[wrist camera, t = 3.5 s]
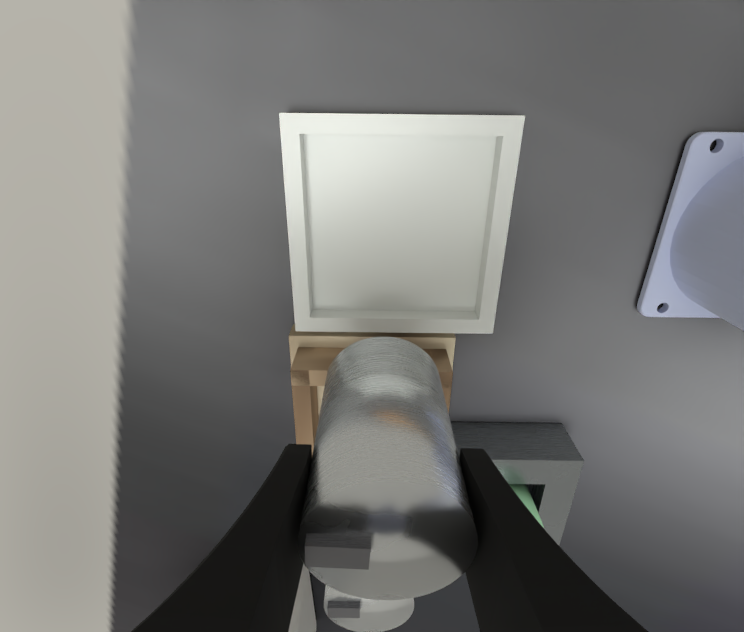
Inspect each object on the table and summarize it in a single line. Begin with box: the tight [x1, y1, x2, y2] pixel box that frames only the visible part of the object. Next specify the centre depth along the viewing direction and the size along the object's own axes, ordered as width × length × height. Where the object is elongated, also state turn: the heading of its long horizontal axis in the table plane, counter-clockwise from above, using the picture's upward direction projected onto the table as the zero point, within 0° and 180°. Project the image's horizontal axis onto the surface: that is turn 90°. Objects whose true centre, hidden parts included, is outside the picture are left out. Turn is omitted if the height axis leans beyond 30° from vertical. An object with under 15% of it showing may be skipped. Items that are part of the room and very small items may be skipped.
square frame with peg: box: [451, 422, 584, 545], centre depth 23 cm, size 6×6×3 cm
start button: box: [509, 484, 544, 528], centre depth 22 cm, size 2×2×3 cm
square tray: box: [279, 113, 525, 334], centre depth 18 cm, size 9×9×2 cm
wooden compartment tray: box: [289, 324, 456, 455], centre depth 22 cm, size 8×14×3 cm, turn 179°
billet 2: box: [324, 585, 414, 632], centre depth 21 cm, size 4×4×6 cm
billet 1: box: [298, 337, 478, 600], centre depth 12 cm, size 4×4×6 cm
